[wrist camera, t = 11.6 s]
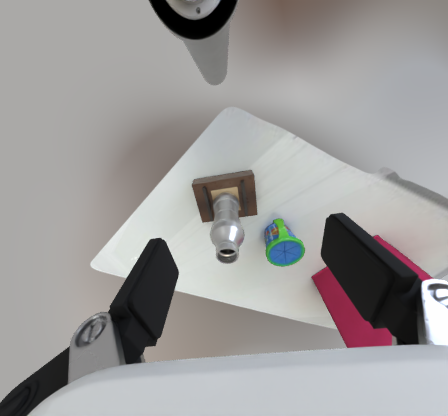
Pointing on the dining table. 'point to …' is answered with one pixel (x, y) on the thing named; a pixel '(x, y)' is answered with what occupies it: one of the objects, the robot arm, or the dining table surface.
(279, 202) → the dining table surface
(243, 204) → the brown wooden base
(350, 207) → the dining table surface
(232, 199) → the silver metal bottle
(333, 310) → the storage bin
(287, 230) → the snack cup
